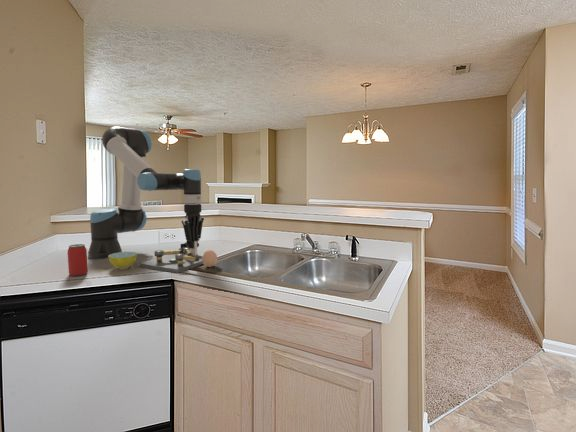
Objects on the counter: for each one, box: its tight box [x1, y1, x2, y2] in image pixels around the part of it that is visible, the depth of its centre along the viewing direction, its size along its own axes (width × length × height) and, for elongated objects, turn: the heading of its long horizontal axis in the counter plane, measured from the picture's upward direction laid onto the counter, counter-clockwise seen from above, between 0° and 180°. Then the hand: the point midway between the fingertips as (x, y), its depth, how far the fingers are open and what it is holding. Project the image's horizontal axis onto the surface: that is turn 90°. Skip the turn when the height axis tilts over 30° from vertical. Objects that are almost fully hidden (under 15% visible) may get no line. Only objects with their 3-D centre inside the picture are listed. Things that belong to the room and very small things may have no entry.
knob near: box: [153, 249, 183, 262], centre depth 155 cm, size 12×4×5 cm, turn 111°
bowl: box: [107, 251, 138, 271], centre depth 148 cm, size 11×12×6 cm
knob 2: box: [174, 254, 200, 266], centre depth 146 cm, size 12×4×5 cm, turn 66°
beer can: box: [67, 243, 89, 277], centre depth 137 cm, size 7×7×12 cm
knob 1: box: [183, 247, 193, 256], centre depth 157 cm, size 12×4×5 cm, turn 22°
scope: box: [178, 240, 200, 254], centre depth 176 cm, size 8×14×10 cm
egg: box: [201, 249, 218, 268], centre depth 152 cm, size 7×7×8 cm
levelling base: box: [138, 254, 204, 274], centre depth 155 cm, size 22×20×2 cm
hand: (193, 254), depth 154 cm, fingers closed
